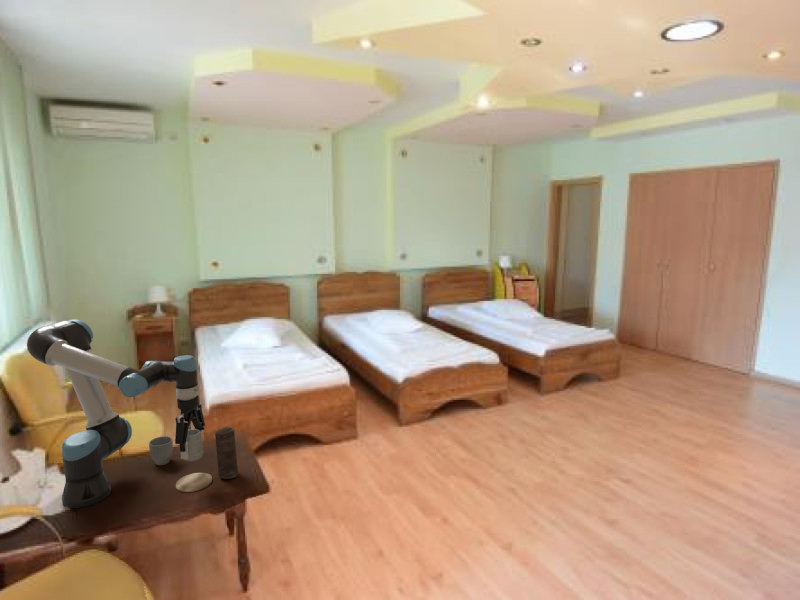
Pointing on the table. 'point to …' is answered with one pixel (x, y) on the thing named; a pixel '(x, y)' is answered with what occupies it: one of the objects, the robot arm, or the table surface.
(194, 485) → the coaster
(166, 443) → the mug
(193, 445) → the mug
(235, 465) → the candle
